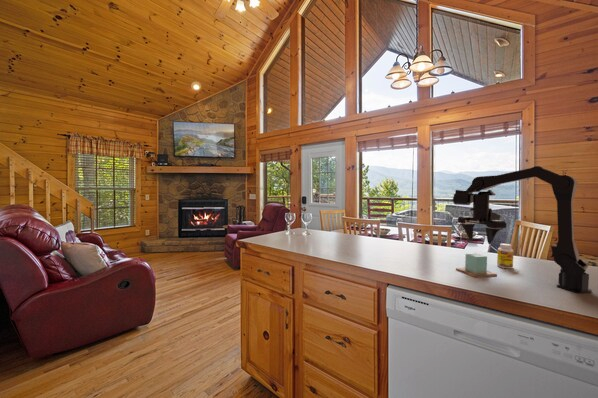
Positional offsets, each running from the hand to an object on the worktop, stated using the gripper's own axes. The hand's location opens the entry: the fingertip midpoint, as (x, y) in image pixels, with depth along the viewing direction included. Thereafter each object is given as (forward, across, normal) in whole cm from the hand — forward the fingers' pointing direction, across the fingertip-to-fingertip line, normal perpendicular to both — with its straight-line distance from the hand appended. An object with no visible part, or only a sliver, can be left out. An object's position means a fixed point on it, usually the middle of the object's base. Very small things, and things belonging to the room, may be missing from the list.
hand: (479, 241), depth 114 cm
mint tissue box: (+11, -4, +6) cm, 13 cm away
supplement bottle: (+12, 0, -14) cm, 19 cm away
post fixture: (+12, -4, +6) cm, 14 cm away
